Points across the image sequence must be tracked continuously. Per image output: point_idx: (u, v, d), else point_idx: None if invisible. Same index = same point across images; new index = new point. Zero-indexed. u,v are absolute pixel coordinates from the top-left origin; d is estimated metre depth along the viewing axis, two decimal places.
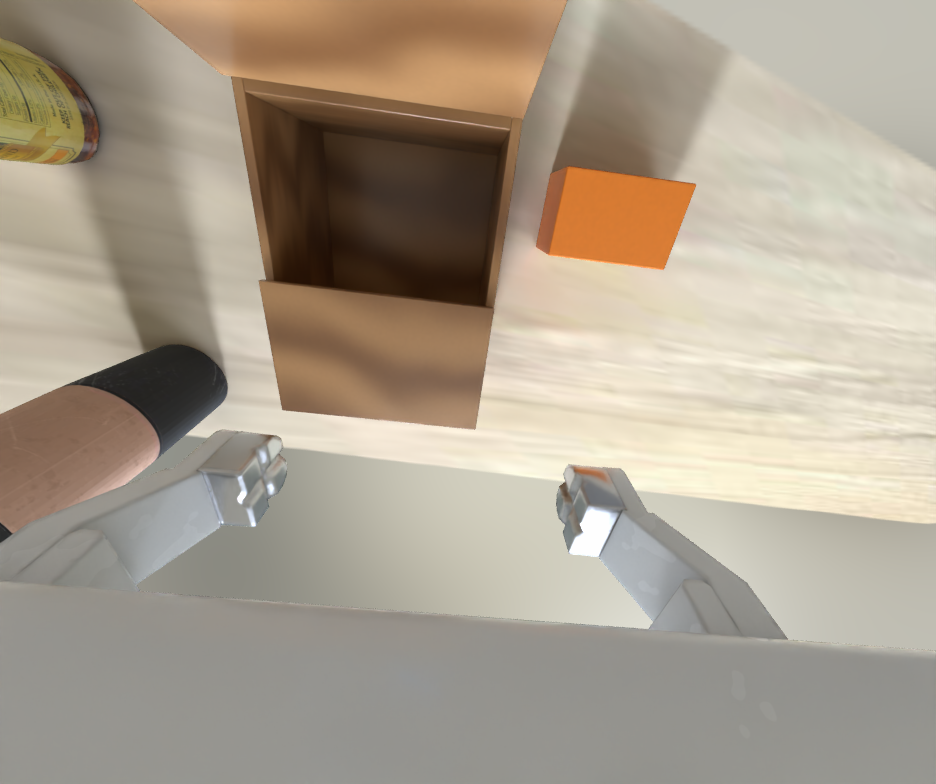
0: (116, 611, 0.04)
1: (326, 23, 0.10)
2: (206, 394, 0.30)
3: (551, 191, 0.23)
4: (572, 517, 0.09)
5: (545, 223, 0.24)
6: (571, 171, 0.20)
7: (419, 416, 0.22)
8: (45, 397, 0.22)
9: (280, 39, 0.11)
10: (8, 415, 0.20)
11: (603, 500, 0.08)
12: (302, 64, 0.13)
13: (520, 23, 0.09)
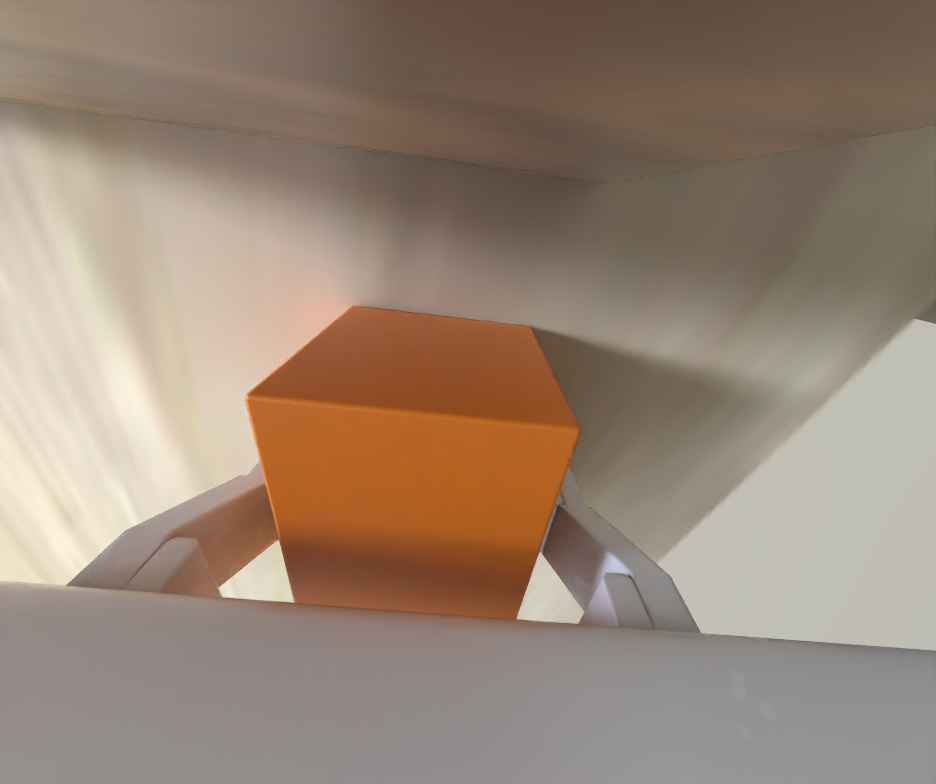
0: (116, 611, 0.04)
1: None
2: None
3: (491, 342, 0.08)
4: None
5: (404, 335, 0.08)
6: (560, 444, 0.05)
7: None
8: None
9: None
10: None
11: None
12: None
13: None
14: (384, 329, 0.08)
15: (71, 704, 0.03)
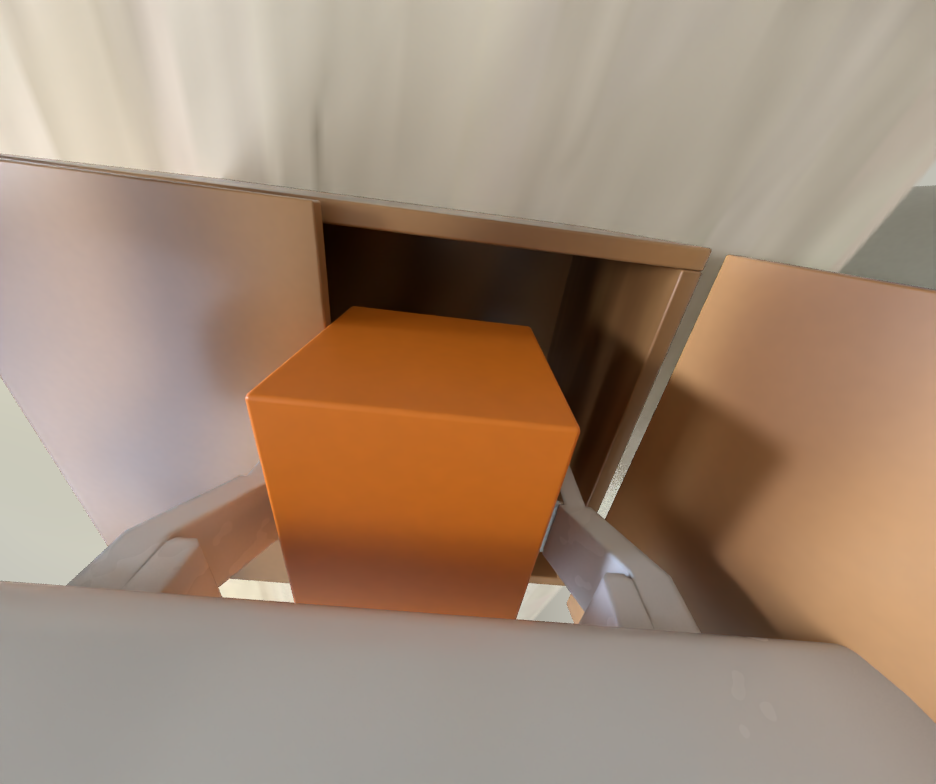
0: (116, 611, 0.04)
1: None
2: None
3: (491, 342, 0.08)
4: None
5: (404, 336, 0.08)
6: (560, 444, 0.05)
7: (95, 498, 0.10)
8: None
9: (759, 512, 0.06)
10: None
11: None
12: (700, 466, 0.07)
13: None
14: (384, 329, 0.08)
15: (71, 704, 0.03)
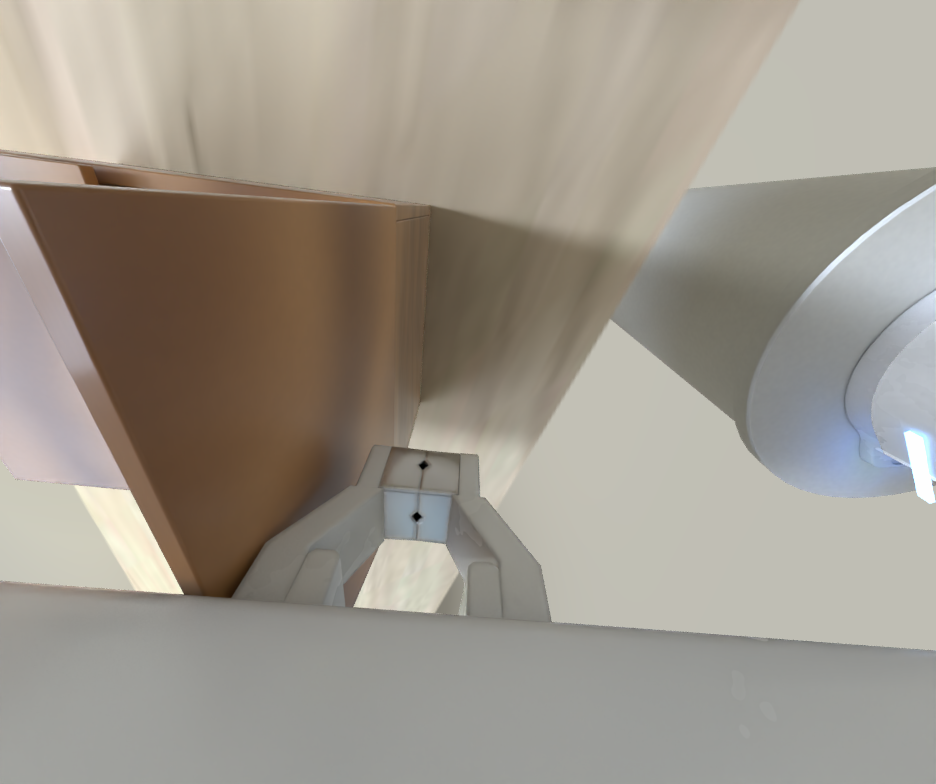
0: (116, 611, 0.04)
1: None
2: None
3: None
4: None
5: None
6: None
7: None
8: None
9: None
10: None
11: (438, 485, 0.08)
12: None
13: None
14: None
15: (71, 704, 0.03)
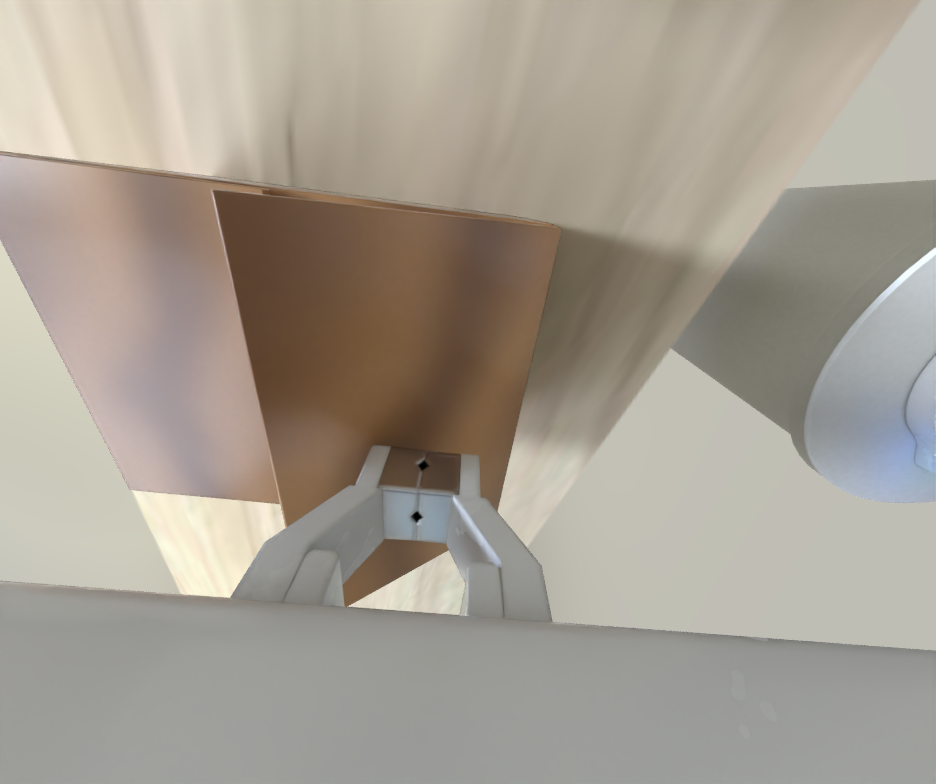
0: (116, 611, 0.04)
1: None
2: None
3: None
4: None
5: None
6: None
7: (109, 423, 0.13)
8: None
9: None
10: None
11: (438, 485, 0.08)
12: None
13: None
14: None
15: (71, 704, 0.03)
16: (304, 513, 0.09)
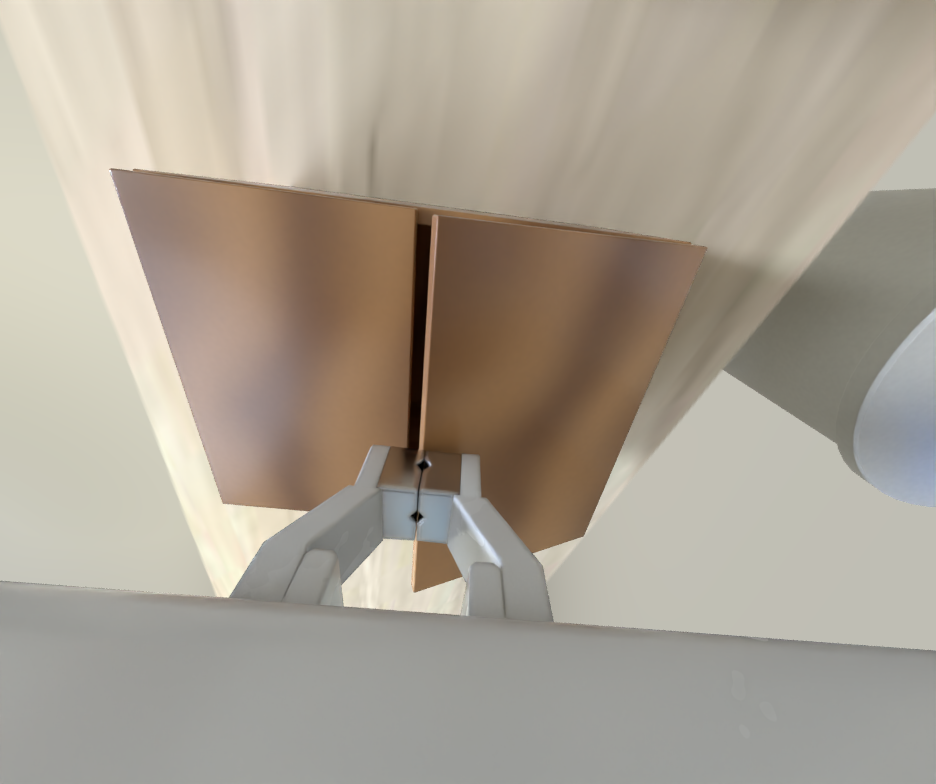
0: (116, 611, 0.04)
1: None
2: None
3: None
4: None
5: None
6: None
7: (215, 438, 0.13)
8: None
9: None
10: None
11: (439, 485, 0.08)
12: None
13: None
14: None
15: (71, 704, 0.03)
16: None
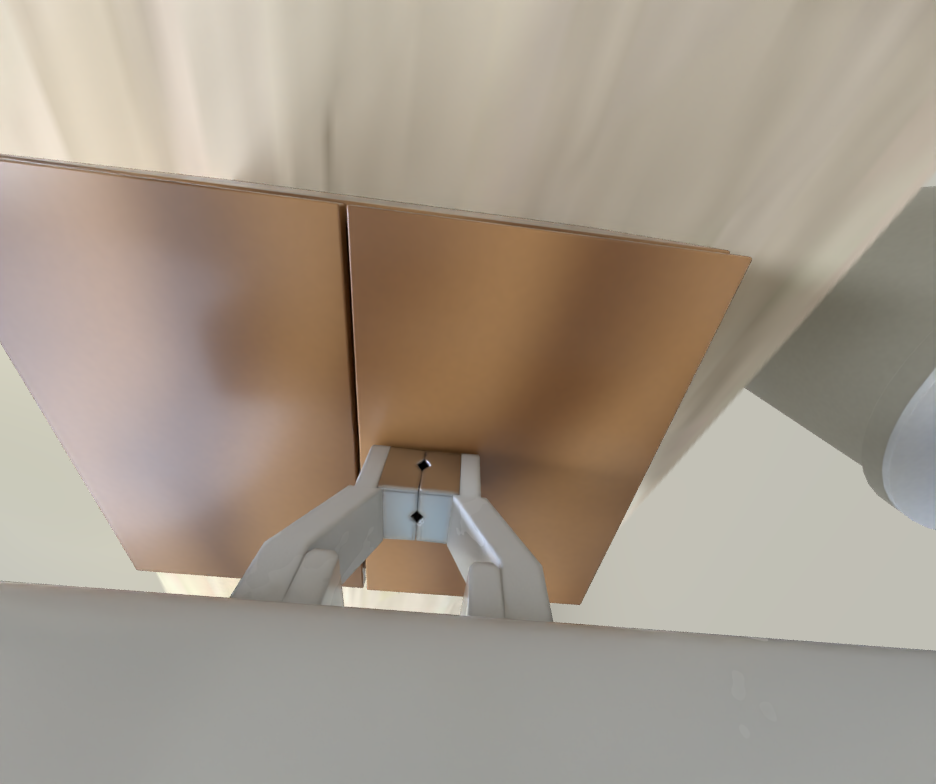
0: (116, 611, 0.04)
1: None
2: None
3: None
4: None
5: None
6: None
7: (112, 498, 0.11)
8: None
9: None
10: None
11: (439, 485, 0.08)
12: None
13: None
14: None
15: (71, 704, 0.03)
16: None
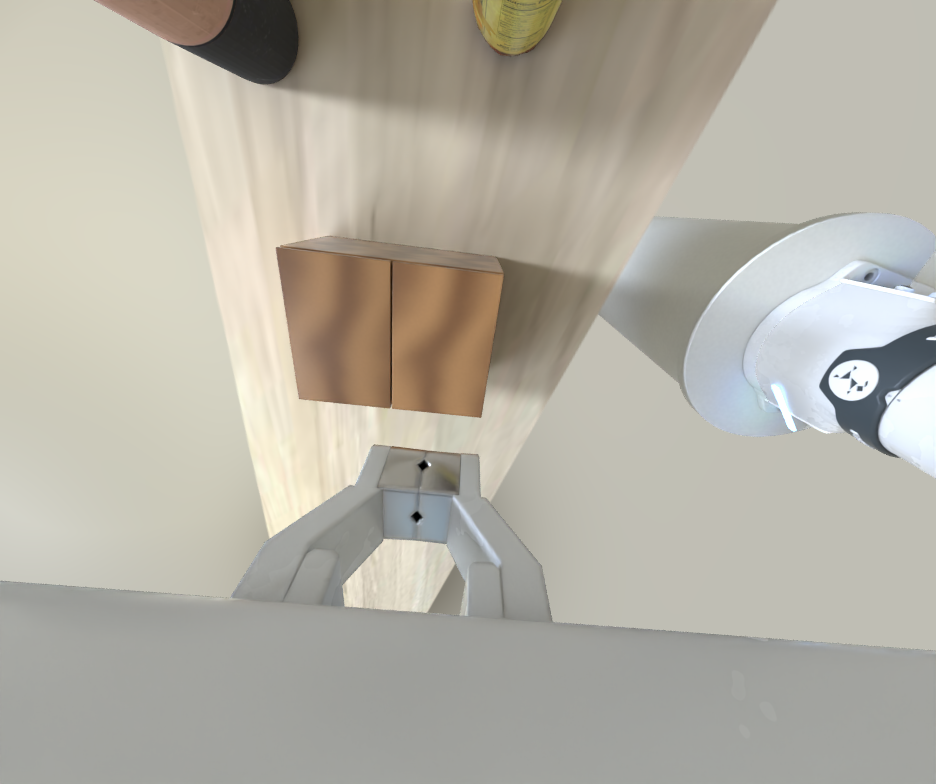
0: (116, 611, 0.04)
1: None
2: (243, 74, 0.25)
3: None
4: None
5: None
6: None
7: (300, 361, 0.29)
8: None
9: None
10: None
11: (439, 485, 0.08)
12: None
13: None
14: None
15: (71, 704, 0.03)
16: (397, 355, 0.28)
